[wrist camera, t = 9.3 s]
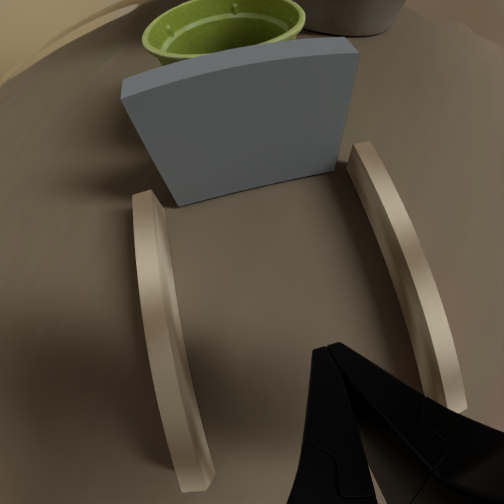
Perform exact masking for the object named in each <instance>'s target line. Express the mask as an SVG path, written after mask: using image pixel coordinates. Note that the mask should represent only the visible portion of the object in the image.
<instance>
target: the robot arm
mask: <svg viewBox="0 0 504 504" xmlns="http://www.w3.org/2000/svg"><path fill="white" fill-rule="evenodd" d="M368 465H369V467H370V469H371V471H372V473H373V475H374V477H375V479H376V482H377V484H378V486H379V488H380V490H381V492H382V494H383V496H384V498H385V500H386V502H387V504H504V432H501V431H499V430H496V429H494V428H491V427H489V426H486V425H484V424H481V423H479V422H477V421H474V420H472V419H470V418H467V417H465V416H463V415H461V414H459V413H456V412H454V411H452V410H450V409H448V408H447V407H445V406H443V405H441V404H439V403H438V402H436V401H434V400H433V399H431V398H429V397H426V398H425V395H424V394H423V393H421V392H419V391H418V390H416V389H414V388H413V387H411V386H409V385H408V384H406V383H405V382H403V381H401V380H400V379H398V378H397V377H395V376H393V375H392V374H390V373H389V372H387V371H385V370H384V369H382V368H381V367H379V366H377V365H376V364H374V363H373V362H371V361H369V360H368V359H366V358H365V357H363V356H362V355H360V354H358V353H357V352H355V351H354V350H352V349H351V348H349V347H347V346H346V345H344V344H343V343H341V342H337V343H333V344H330V345H328V346H327V347H325V346H323V347H320V348H316V349H313V351H312V359H311V370H310V381H309V391H308V400H307V409H306V417H305V426H304V433H303V442H302V447H301V454H300V459H299V465H298V470H297V473H296V476H295V480H294V483H293V487H292V490H291V492H290V495H289V498H288V501H287V504H378V503H377V499H376V494H375V490H374V486H373V482H372V478H371V475H370V471H369V467H368Z"/></svg>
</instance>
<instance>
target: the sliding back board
mask: <svg viewBox="0 0 504 504" xmlns="http://www.w3.org/2000/svg"><path fill="white" fill-rule="evenodd" d="M358 58H359V52H358V51H357V50H356V49H355V47H354V46H353V45H352V44H351V43H350V42H349V41H348V40H347V39H346V38H345V37H327V38H311V39H299V40H289V41H280V42H272V43H265V44H258V45H252V46H246V47H240V48H235V49H230V50H225V51H220V52H215V53H211V54H206V55H202V56H198V57H194V58H190V59H186V60H182V61H179V62H175V63H172V64H168V65H165V66H162V67H158V68H155V69H152V70H149V71H146V72H143V73H140V74H137V75H134V76H131V77H129V78H126V79H123V82H122V90H121V98H120V99H121V101H122V103H123V105H124V107H125V109H126V111H127V113H128V115H129V117H130V119H131V121H132V123H133V124H134V126H135V128H136V130H137V132H138V134H139V136H140V138H141V139H142V141H143V143H144V145H145V147H146V149H147V151H148V152H149V154H150V156H151V158H152V160H153V162H154V163H155V165H156V167H157V169H158V171H159V173H160V174H161V176H162V178H163V180H164V182H165V183H166V185H167V187H168V189H169V191H170V192H171V194H172V196H173V198H174V199H175V201H176V203H177V205H178V206H179V207H180V206H184V205H187V204H191V203H195V202H199V201H203V200H206V199H210V198H214V197H218V196H222V195H226V194H230V193H235V192H239V191H243V190H247V189H251V188H256V187H260V186H264V185H269V184H273V183H278V182H282V181H287V180H292V179H296V178H301V177H306V176H311V175H316V174H321V173H326V172H331V171H334V170H335V166H336V161H337V157H338V153H339V149H340V145H341V140H342V136H343V131H344V127H345V123H346V118H347V113H348V109H349V104H350V99H351V94H352V89H353V84H354V79H355V74H356V69H357V64H358Z"/></svg>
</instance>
